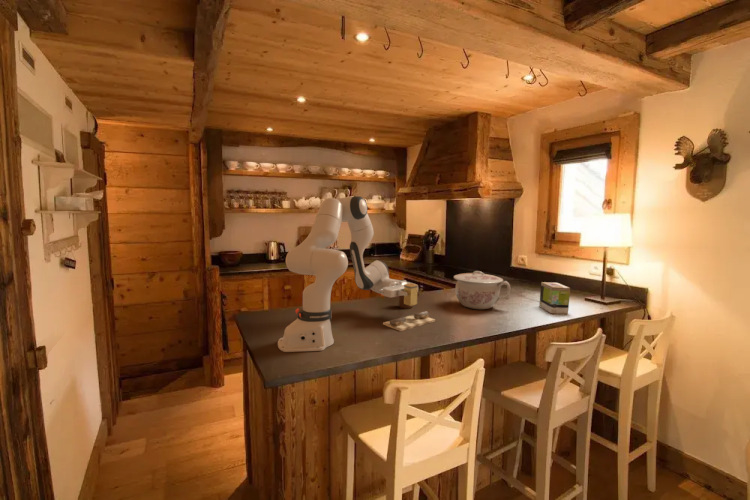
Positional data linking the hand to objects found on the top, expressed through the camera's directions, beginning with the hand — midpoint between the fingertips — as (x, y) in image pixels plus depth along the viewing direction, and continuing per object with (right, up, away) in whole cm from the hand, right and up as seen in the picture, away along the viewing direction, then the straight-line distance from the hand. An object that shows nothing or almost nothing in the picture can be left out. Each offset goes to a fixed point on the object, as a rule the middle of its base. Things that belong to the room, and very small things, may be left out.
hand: (412, 293), depth 179 cm
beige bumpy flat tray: (-1, -15, +2) cm, 15 cm away
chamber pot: (+41, -12, +35) cm, 55 cm away
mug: (+1, -12, +32) cm, 34 cm away
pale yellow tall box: (-1, -5, +1) cm, 6 cm away
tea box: (+82, -13, +31) cm, 89 cm away
